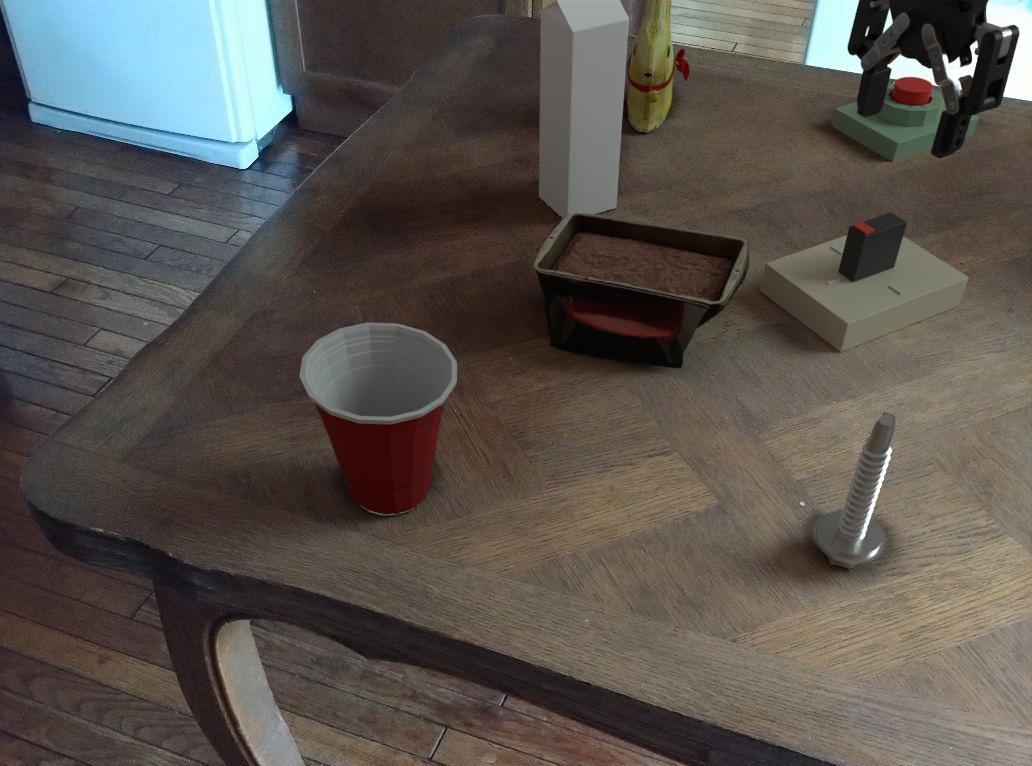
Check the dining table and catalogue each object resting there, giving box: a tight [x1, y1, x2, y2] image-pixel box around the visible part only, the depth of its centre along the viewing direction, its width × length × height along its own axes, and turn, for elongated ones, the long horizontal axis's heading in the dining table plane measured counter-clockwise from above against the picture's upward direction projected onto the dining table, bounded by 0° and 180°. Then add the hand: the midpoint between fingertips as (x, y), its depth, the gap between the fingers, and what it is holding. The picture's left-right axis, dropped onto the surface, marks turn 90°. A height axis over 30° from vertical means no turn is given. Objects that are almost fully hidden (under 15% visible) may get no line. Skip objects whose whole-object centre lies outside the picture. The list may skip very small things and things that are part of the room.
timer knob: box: [838, 212, 908, 282], centre depth 93 cm, size 5×2×5 cm, turn 118°
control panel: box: [760, 234, 970, 353], centre depth 96 cm, size 14×11×3 cm
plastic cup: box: [299, 322, 458, 514], centre depth 77 cm, size 11×11×12 cm
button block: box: [830, 83, 980, 163], centre depth 119 cm, size 12×10×4 cm
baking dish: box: [532, 213, 751, 369], centre depth 92 cm, size 14×18×10 cm
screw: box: [812, 411, 896, 570], centre depth 71 cm, size 13×5×5 cm
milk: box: [538, 0, 630, 219], centre depth 102 cm, size 6×6×22 cm
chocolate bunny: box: [626, 0, 690, 131], centre depth 118 cm, size 7×11×15 cm, turn 168°
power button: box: [891, 76, 933, 106], centre depth 117 cm, size 4×4×2 cm
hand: (904, 133), depth 88 cm, fingers open, 8 cm apart
